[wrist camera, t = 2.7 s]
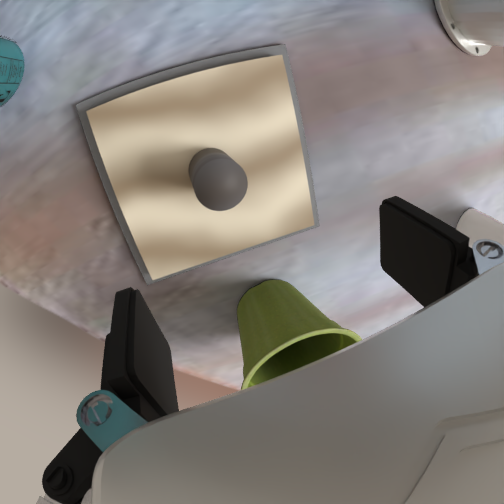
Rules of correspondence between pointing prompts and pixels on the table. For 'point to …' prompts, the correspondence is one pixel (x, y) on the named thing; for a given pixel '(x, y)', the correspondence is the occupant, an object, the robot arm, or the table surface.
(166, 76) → the mat
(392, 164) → the table surface
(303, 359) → the plant pot
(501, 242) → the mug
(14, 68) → the beverage bottle
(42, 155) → the table surface
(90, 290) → the table surface
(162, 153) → the lid
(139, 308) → the robot arm
